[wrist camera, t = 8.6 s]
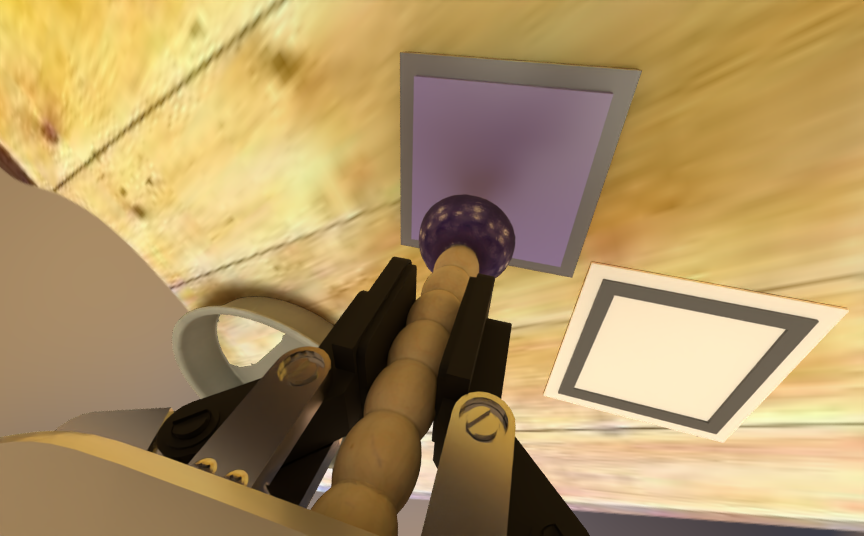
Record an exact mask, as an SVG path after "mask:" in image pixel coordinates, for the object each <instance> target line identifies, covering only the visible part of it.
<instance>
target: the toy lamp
mask: <svg viewBox="0 0 864 536" xmlns="http://www.w3.org/2000/svg"><path fill="white" fill-rule="evenodd" d="M515 239H516V238H515V234H514V229H513V226H512V224H511V223H510V220H509V219H508V217H507V216H506V214H505V213H504V212H503V211H502V210H501V209H500V208H499V207H498V206H497V205H495V204H494V203H492V202H490V201H488V200H487V199H484V198H482V197H477V196H472V195H468V194H463V195H453V196H449V197H447V198H444V199H442V200H441V201H439V202H437V203H435V204H434V205H433V206H432V207H431V208H430V209H429V210H428V212H427V213H426V214H425V216H424V218H423V220H422V223H421V227H420V232H419V248H420V252H421V255H422V258H423V260H424V262H425V264H426V265H427V267H428V269H429V270H430V271H431V272H432V274H431V275H430V276H429V277H428V278H427V280H426V281H425V283H424V285H423V288H422V293H421V297H419V298H418V299H417V300H416V301H415V302H414V304H413V305H412V307H411V309H410V311H409V313H408V316H407V320H406V327H404V328H403V329H402V330H401V331H400V332H399V334H398V335H397V336H396V338H395V339H394V341H393V343H392V345H391V347H390V350H389V353H388V358H387V367H386V368H384V369H383V370H382V371H381V372H380V373H379V375H378V376H377V377H376V379H375V380H374V382H373V384H372V386H371V388H370V390H369V392H368V395H367V397H366V401H365V405H364V418H362V419H361V420H360V421H358V422H357V424H356V425H355V426H354V427H353V428H352V429H351V430H350V432H349V433H348V434H347V436H346V438H345V439H344V441H343V443H342V445H341V447H340V449H339V451H338V454H337V456H336V460H335V463H334V467H333V472H332V484H331V488H330V489H329V490H328V491H326V492H325V493H324V494H323V495H322V496H321V497H320V498H319V499H318V500H317V501H316V503H315V504H314V505H313V507H312V508H311V510H312V511H314V512H317V513H320V514H322V515H325V516H328V517H330V518H333V519H336V520H339V521H341V522H344V523H347V524H349V525H352V526H355V527H357V528H360V529H363V530H366V531H368V532H371V533H374V534H376V535H379V536H398V522H397V514H398V512H399V511H400V510H401V509H402V508H403V507H404V505H405V504H406V502H407V501H408V499H409V497H410V495H411V494H412V491H413V489H414V487H415V485H416V482H417V479H418V476H419V471H420V466H421V441H420V440H421V439H422V438H423V437H424V435H425V434H426V433H427V432H428V430H429V428H430V427H431V425H432V423H433V421H434V418H435V398H436V387H437V376H438V371H439V367H440V363H441V360H442V357H443V354H444V351H445V348H446V345H447V342H448V339H449V336H450V333H451V330H452V328H453V325H454V322H455V319H456V316H457V313H458V310H459V307H460V304H461V301H462V298H463V295H464V292H465V290H466V287H467V284H468V281H469V278H470V276H471V277H477V274H478V273H480V274H485V275H490V276H495V278H496V277H498V276H499V275H500V274H501V273H502V272H503V271H504V270H505V269H506V267H507V266H508V264H509V262H510V260H511V259H512V256H513V253H514V249H515Z"/></svg>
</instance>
